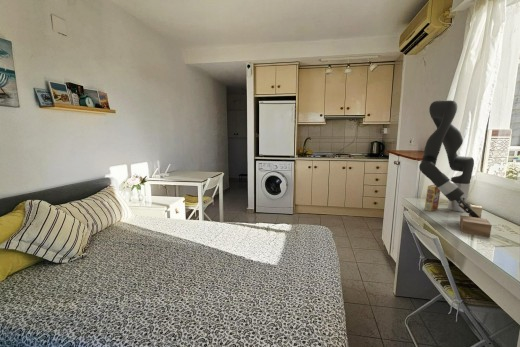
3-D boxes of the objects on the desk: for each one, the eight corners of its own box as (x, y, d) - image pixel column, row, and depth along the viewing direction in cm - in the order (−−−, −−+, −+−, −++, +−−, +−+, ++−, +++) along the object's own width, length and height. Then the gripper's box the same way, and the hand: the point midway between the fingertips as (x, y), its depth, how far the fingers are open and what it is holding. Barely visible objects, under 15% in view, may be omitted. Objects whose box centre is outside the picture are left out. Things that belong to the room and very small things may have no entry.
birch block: (467, 223, 131) (470, 204, 130) (479, 225, 128) (481, 206, 127) (467, 225, 128) (470, 206, 126) (479, 227, 125) (482, 208, 123)
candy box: (432, 211, 151) (434, 186, 149) (424, 209, 155) (427, 185, 152) (438, 209, 156) (441, 185, 154) (430, 207, 159) (433, 184, 157)
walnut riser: (459, 226, 127) (460, 215, 126) (485, 230, 121) (486, 219, 120) (461, 233, 118) (463, 220, 117) (489, 237, 113) (491, 225, 112)
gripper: (456, 188, 125) (485, 216, 119) (458, 184, 136) (484, 210, 130) (442, 196, 129) (469, 224, 124) (444, 192, 140) (469, 217, 134)
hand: (477, 217), depth 127 cm, fingers closed on birch block, 4 cm apart
